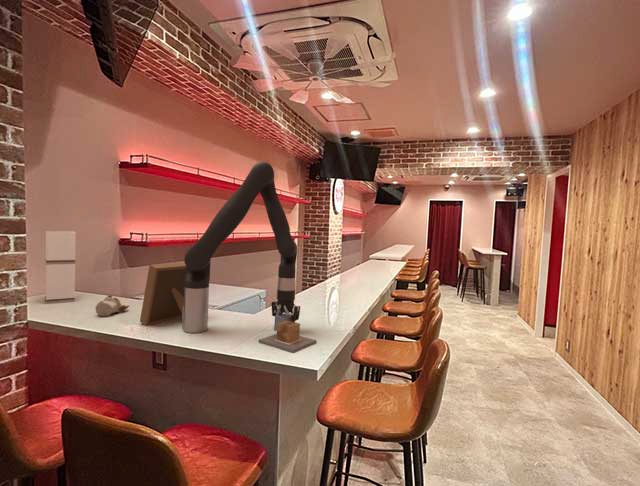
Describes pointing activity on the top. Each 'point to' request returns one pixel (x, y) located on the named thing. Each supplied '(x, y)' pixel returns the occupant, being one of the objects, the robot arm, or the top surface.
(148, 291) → the photo frame
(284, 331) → the walnut block
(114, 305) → the ceramic sculpture
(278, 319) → the slate block
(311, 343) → the base plate
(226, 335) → the top surface
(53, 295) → the white stacked pillar
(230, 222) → the robot arm
